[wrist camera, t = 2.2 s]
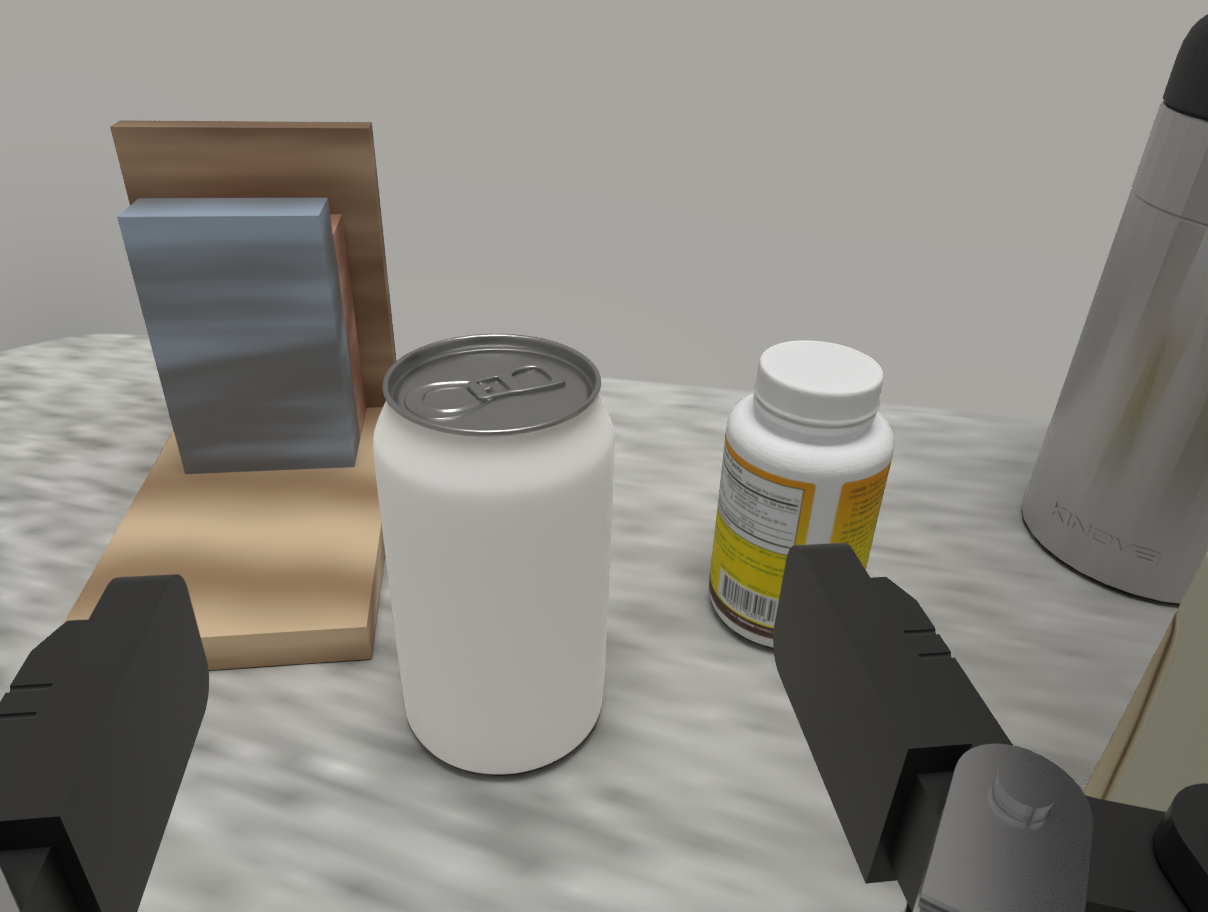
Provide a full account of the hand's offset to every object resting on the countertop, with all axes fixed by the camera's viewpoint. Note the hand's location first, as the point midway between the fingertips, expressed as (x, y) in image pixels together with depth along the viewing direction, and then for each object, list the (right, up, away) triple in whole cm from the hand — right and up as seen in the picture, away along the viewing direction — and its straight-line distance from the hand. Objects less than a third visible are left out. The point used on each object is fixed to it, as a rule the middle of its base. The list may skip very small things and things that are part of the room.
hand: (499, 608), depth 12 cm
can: (-2, -6, +17) cm, 18 cm away
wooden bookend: (-13, -1, +25) cm, 28 cm away
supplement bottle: (+8, -4, +22) cm, 23 cm away
